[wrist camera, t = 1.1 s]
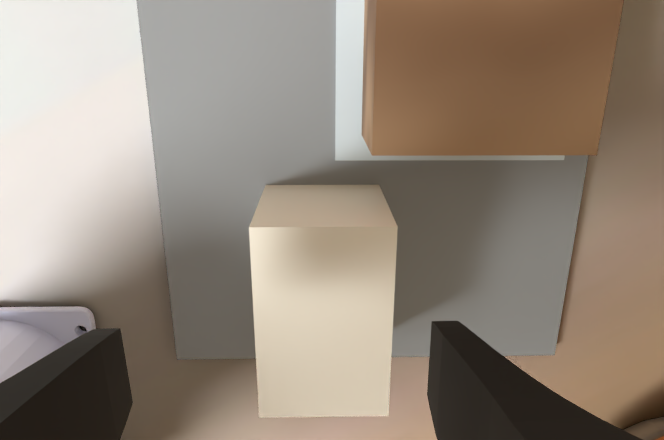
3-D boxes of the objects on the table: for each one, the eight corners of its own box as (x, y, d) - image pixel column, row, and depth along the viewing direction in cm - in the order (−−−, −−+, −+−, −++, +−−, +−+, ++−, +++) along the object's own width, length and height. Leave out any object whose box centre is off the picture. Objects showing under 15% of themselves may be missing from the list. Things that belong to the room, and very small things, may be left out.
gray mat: (548, 347, 23) (555, 356, 23) (180, 351, 23) (176, 360, 22) (622, -98, 18) (634, -104, 17) (131, -104, 17) (123, -110, 16)
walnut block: (542, 134, 19) (596, 155, 16) (361, 134, 19) (371, 155, 15) (570, -71, 17) (642, -106, 13) (366, -73, 17) (380, -109, 13)
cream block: (373, 337, 22) (388, 416, 17) (271, 338, 22) (258, 417, 17) (378, 184, 20) (397, 226, 15) (265, 184, 20) (248, 227, 15)
